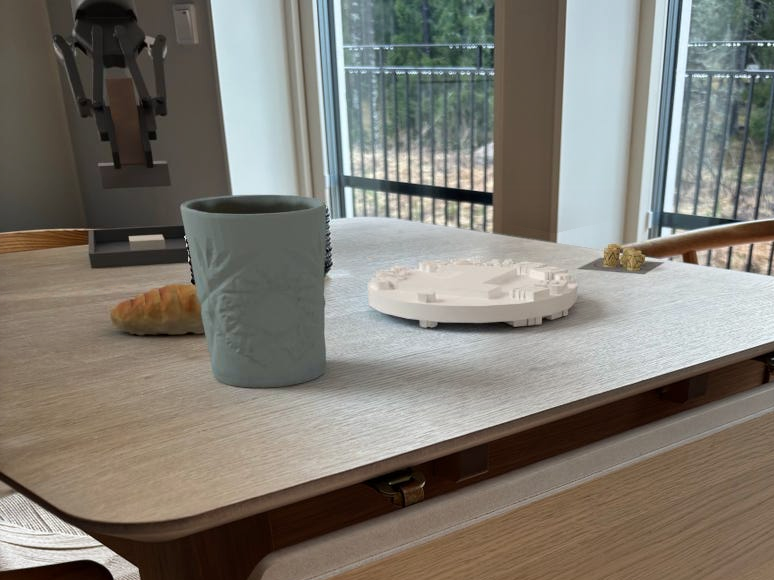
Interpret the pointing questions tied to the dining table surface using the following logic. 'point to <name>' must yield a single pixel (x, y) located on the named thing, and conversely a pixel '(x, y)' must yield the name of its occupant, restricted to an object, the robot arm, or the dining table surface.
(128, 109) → the brown grey t-shaped piece
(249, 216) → the grey-green embossed cup
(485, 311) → the white round plaque
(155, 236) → the beige square block
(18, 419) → the dining table surface
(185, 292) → the pastry
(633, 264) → the dice set
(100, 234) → the tray
